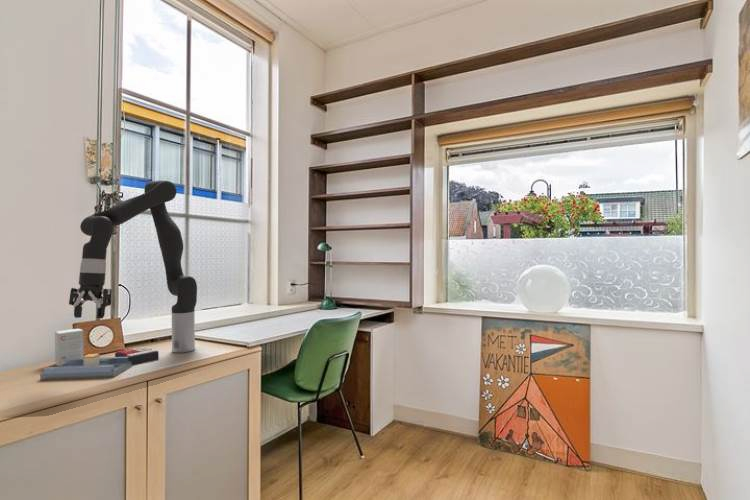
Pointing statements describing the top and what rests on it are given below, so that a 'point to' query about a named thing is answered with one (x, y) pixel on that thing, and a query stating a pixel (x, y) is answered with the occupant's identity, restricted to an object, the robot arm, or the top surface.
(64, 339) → the small box
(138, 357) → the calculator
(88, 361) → the breaker toggle
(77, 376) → the panel
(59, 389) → the top surface
